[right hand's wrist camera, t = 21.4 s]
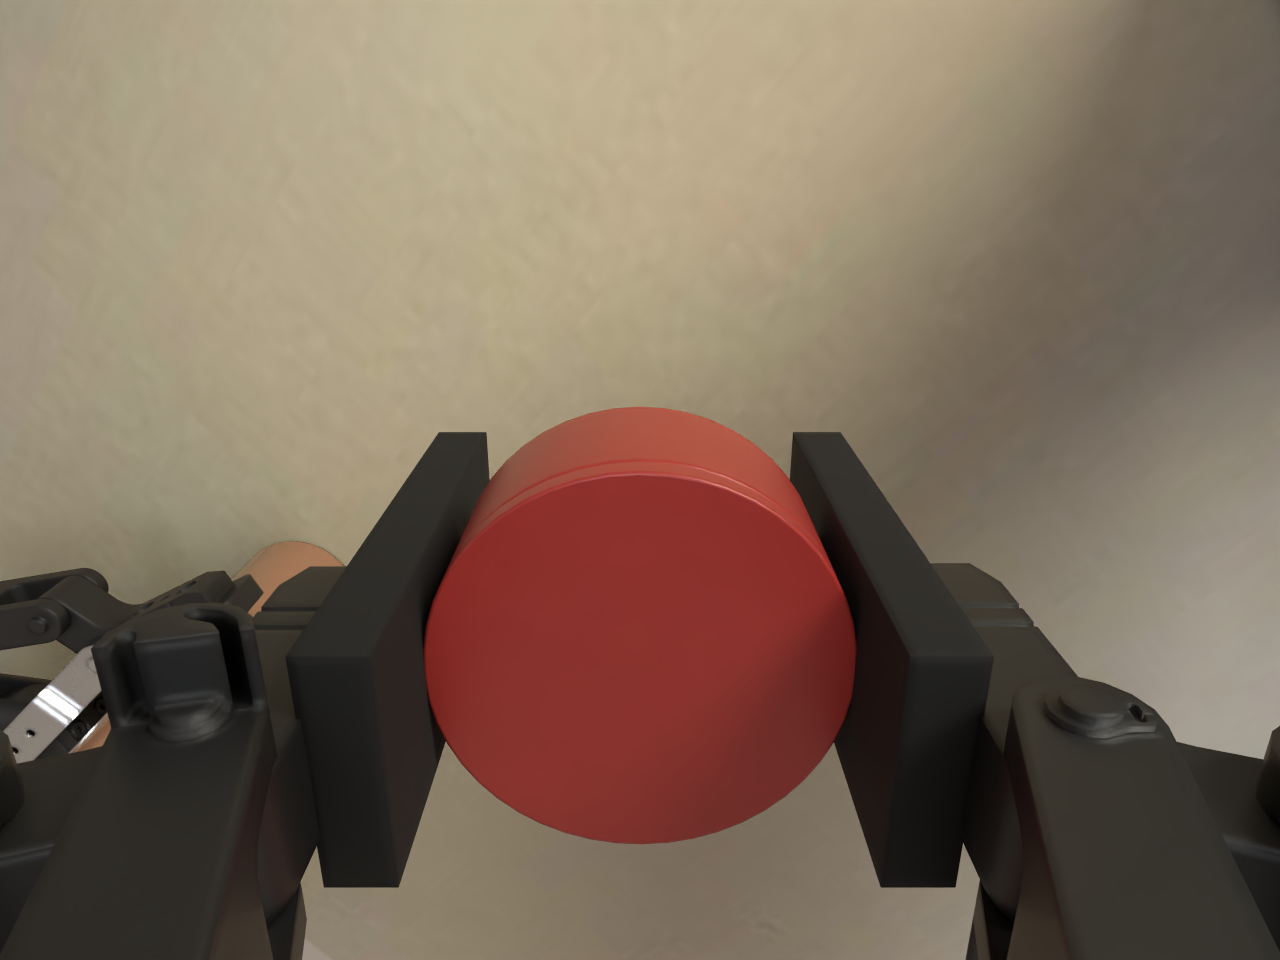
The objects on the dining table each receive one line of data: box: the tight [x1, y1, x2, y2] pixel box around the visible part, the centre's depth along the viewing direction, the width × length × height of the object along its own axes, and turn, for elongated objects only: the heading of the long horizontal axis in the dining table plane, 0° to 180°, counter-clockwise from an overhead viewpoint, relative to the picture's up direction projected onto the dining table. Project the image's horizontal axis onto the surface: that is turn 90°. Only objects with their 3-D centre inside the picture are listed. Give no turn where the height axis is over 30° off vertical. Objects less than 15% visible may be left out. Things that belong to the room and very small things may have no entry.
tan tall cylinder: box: [68, 542, 343, 754], centre depth 25 cm, size 4×4×18 cm
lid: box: [423, 407, 857, 844], centre depth 11 cm, size 5×5×2 cm
